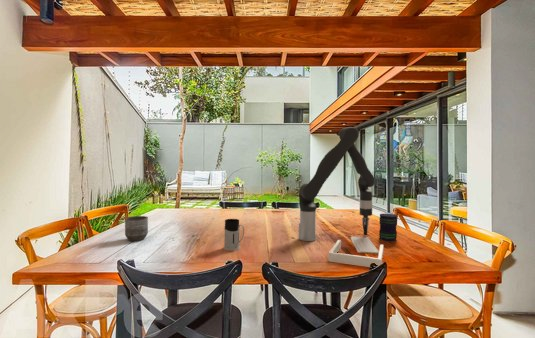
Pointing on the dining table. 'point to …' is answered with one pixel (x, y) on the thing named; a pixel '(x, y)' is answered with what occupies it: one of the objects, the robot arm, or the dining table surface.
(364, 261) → the frame
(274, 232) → the dining table surface
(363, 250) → the baseboard
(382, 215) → the storage jar
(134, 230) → the planter
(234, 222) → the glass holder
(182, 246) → the dining table surface
